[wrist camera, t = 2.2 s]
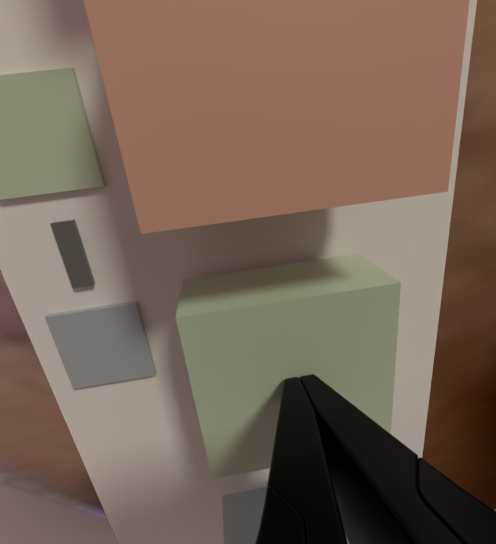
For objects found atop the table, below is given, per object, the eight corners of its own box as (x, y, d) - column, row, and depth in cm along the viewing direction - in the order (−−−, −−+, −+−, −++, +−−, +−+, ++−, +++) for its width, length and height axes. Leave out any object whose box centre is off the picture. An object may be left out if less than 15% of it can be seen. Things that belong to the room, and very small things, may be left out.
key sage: (359, 253, 10) (401, 282, 8) (357, 391, 12) (389, 445, 10) (183, 279, 10) (175, 317, 8) (211, 417, 12) (212, 478, 10)
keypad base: (442, -505, 7) (601, -948, 4) (384, 459, 19) (417, 518, 16) (-221, -505, 6) (-585, -1059, 4) (142, 505, 18) (129, 577, 15)
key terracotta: (394, -126, 6) (501, -283, 4) (382, 179, 8) (448, 191, 6) (92, -104, 6) (19, -263, 4) (160, 209, 8) (141, 234, 6)
